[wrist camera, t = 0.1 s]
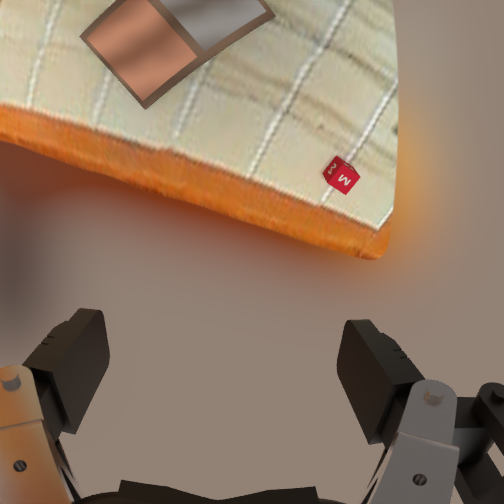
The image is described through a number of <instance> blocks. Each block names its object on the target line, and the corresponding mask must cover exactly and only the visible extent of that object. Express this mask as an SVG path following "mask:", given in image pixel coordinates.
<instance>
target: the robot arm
mask: <svg viewBox="0 0 504 504" xmlns="http://www.w3.org/2000/svg"><path fill="white" fill-rule="evenodd" d="M109 359H110V352H109V346H108V340H107V333H106V327H105V321H104V315H103V313H102V311H101V310H94V309H84V308H80V309H78V310H77V312H76V313H75V314H74V315H73V316H72V317H71V318H70V320H69V321H64V322H63V323H61V324H59V325H58V326H56V327H54V328H53V329H52V330H51V332H50V333H49V334H48V335H47V337H45V338H44V340H43V341H42V342H41V344H39V345H38V346H37V348H36V349H35V350H34V351H33V352H32V354H31V355H30V356H29V357H28V358H27V359H26V361H25V362H24V363H23V364H22V365H9V366H5V367H2V368H0V504H345V503H341V502H338V501H334V500H328V499H320V498H318V496H317V491H316V488H315V486H314V487H304V488H293V489H278V490H266V491H262V492H258V493H253V494H249V495H244V496H239V497H234V498H229V499H223V500H214V499H209V498H205V497H201V496H197V495H194V494H190V493H187V492H183V491H180V490H177V489H173V488H170V487H167V486H158V485H151V484H143V483H138V482H132V481H126V480H121V483H120V487H119V491H118V492H107V493H100V494H96V495H91V496H88V497H84V495H83V493H82V491H81V489H80V487H79V485H78V483H77V481H76V479H75V477H74V474H73V472H72V470H71V467H70V465H69V463H68V460H67V458H66V455H65V453H64V450H63V447H62V445H61V442H60V440H59V438H58V437H59V436H60V433H61V431H63V432H67V433H71V434H76V432H77V430H78V427H79V425H80V423H81V421H82V419H83V417H84V415H85V413H86V411H87V408H88V406H89V404H90V402H91V400H92V398H93V396H94V394H95V392H96V390H97V388H98V386H99V384H100V382H101V380H102V378H103V376H104V374H105V372H106V370H107V368H108V365H109ZM337 374H338V377H339V379H340V381H341V383H342V386H343V388H344V390H345V392H346V395H347V397H348V399H349V401H350V403H351V406H352V408H353V410H354V412H355V414H356V417H357V419H358V421H359V424H360V426H361V428H362V430H363V433H364V435H365V437H366V439H367V442H368V444H369V445H371V444H376V443H382V442H383V444H384V446H385V448H384V450H383V452H382V454H381V456H380V458H379V461H378V463H377V465H376V467H375V470H374V472H373V474H372V477H371V479H370V480H369V483H368V485H367V487H366V489H365V491H364V493H363V495H362V497H361V499H360V500H359V502H358V504H450V500H451V496H452V491H453V486H454V485H455V487H456V489H457V491H458V493H459V495H460V497H461V499H462V501H463V503H464V504H504V476H503V477H502V476H501V474H500V472H499V471H498V469H497V468H496V466H495V464H494V463H493V461H492V460H491V458H490V456H489V455H488V453H487V452H488V451H489V449H490V448H491V446H492V444H493V443H494V442H495V443H496V445H497V446H498V448H499V450H500V451H501V452H502V454H503V456H504V385H502V384H499V383H486V384H484V385H483V386H481V388H480V390H479V392H478V394H477V396H476V397H457V396H456V394H455V392H454V391H453V389H452V388H450V387H449V386H448V385H446V384H444V383H442V382H439V381H436V380H426V379H425V378H424V377H423V375H422V374H421V373H420V372H419V370H418V369H417V368H416V367H415V365H414V364H413V363H412V361H411V360H410V359H409V358H407V355H406V354H405V353H404V351H402V350H401V348H400V346H399V345H398V344H397V343H396V341H395V340H393V339H392V338H390V337H389V336H387V335H386V334H384V333H380V332H379V331H378V329H377V328H376V327H375V326H374V324H373V323H372V322H371V321H370V320H368V319H364V320H347V321H346V323H345V326H344V330H343V335H342V340H341V345H340V349H339V353H338V358H337Z"/></svg>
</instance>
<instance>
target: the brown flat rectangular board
mask: <svg viewBox="0 0 504 504" xmlns="http://www.w3.org/2000/svg"><path fill="white" fill-rule="evenodd" d="M274 17H275V14H274V13H273V12H272V11H271V9H270V8H269V7H268V6H267V4H266V3H265V2H264V1H263V0H116V1H115V2H114V3H113V4H112V5H111V6H110V7H109V8H107V9H106V10H105V11H104V12H103V13H102V14H101V15H100V16H99V17H98V18H97V19H96V20H95V21H94V22H93V23H92V24H91V25H90V26H89V27H88V28H87V29H86V30H85V31H84V32H83V33H82V34H81V35H80V36H79V37H80V38H81V39H82V40H83V41H84V42H85V43H86V44H87V46H88V47H89V48H90V49H91V50H92V51H93V52H94V53H95V54H96V55H97V57H98V58H99V59H100V60H101V61H102V62H103V63H104V64H105V65H106V66H107V68H108V69H109V70H110V71H111V72H112V73H113V74H114V75H115V76H116V78H117V79H118V80H119V81H120V82H121V83H122V84H123V85H124V86H125V88H126V89H127V90H128V91H129V92H130V93H131V94H132V95H133V97H134V98H135V99H136V100H137V101H138V102H139V103H140V104H141V106H142V107H143V108H144V109H145V110H146V109H147V108H148V107H149V106H150V105H152V104H153V103H154V102H155V101H156V100H157V99H159V98H160V97H161V96H162V95H163V94H165V93H166V92H167V91H168V90H170V89H171V88H172V87H173V86H175V85H176V84H177V83H178V82H180V81H181V80H182V79H183V78H185V77H186V76H187V75H189V74H190V73H191V72H193V71H194V70H195V69H197V68H198V67H199V66H201V65H202V64H203V63H205V62H206V61H207V60H209V59H210V58H212V57H213V56H214V55H216V54H217V53H219V52H220V51H222V50H223V49H224V48H226V47H227V46H229V45H230V44H232V43H233V42H235V41H236V40H238V39H239V38H241V37H243V36H244V35H246V34H247V33H249V32H250V31H252V30H254V29H255V28H257V27H258V26H260V25H262V24H263V23H265V22H267V21H268V20H270V19H272V18H274Z"/></svg>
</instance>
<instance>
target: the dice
mask: <svg viewBox="0 0 504 504" xmlns="http://www.w3.org/2000/svg"><path fill="white" fill-rule="evenodd" d="M323 175H324V177H325V179H326V181H327V183H328V184H329V185H331V186H333V187H334V188H336V189H337V190H339V191H340V192H342V193H343V194H345V195H346V194H347V193H348V192H349V191H350V190H351V188H352V187H353V186H354V185H355V183H356V182H357V181H358V180H359V178H360V176H359V174H358V173H357V172H356V170H355V169H354V168H353V167H352V166H350V165H349V164H348V163H346V162H345V161H343V160H342V159H340V158H339V157H338V156H336V157H335V158H334V159H333V161H332V162H331V163H330V164H329V166H328V167H327V168H326V170H325V171H324V172H323Z"/></svg>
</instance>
